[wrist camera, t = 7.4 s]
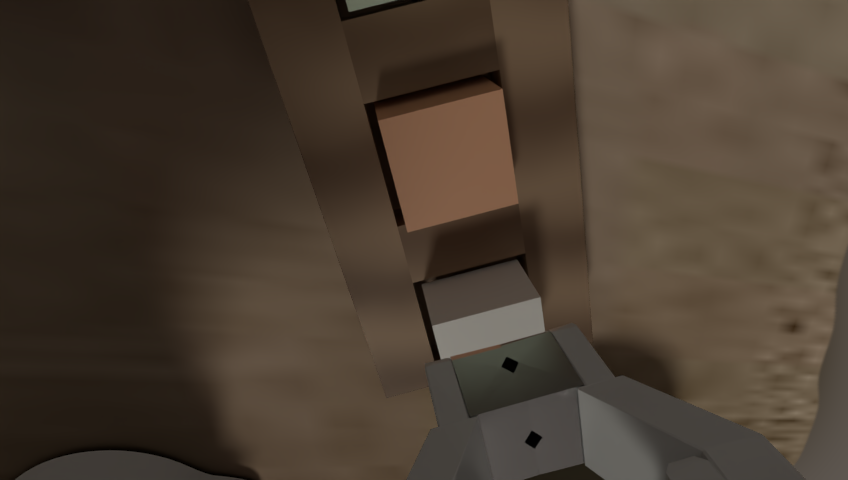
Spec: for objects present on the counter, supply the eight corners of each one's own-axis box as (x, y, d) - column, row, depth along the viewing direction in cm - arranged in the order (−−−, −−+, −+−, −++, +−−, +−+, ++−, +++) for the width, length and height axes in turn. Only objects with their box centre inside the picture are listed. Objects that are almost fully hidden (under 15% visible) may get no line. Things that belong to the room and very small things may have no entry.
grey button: (528, 334, 28) (551, 378, 25) (441, 358, 28) (452, 405, 25) (516, 259, 26) (540, 297, 22) (421, 284, 25) (431, 325, 22)
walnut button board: (571, 312, 31) (592, 342, 28) (383, 362, 31) (386, 398, 28) (519, -238, 19) (547, -274, 16) (205, -163, 19) (182, -186, 16)
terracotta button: (497, 176, 25) (518, 203, 22) (399, 201, 25) (407, 232, 22) (481, 74, 23) (502, 88, 20) (373, 101, 23) (377, 120, 19)
